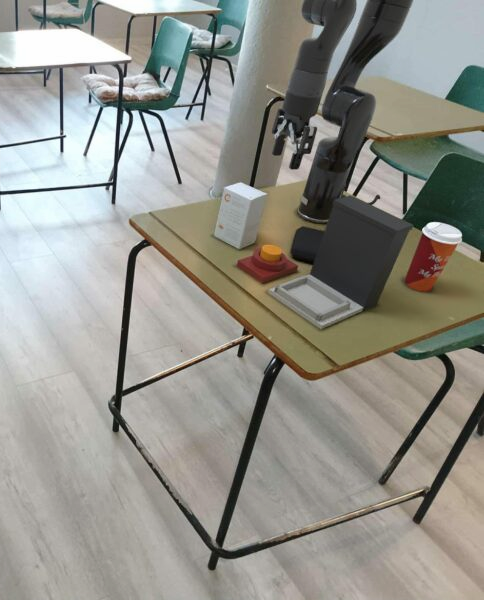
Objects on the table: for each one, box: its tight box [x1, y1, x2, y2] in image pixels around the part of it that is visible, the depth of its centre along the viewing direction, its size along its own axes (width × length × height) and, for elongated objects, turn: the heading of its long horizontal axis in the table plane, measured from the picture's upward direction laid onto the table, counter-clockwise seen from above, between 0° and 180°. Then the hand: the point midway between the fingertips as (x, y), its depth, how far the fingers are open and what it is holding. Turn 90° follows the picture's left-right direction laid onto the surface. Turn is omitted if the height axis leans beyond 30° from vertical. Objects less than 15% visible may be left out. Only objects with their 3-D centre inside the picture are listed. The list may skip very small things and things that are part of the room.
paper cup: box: [404, 221, 463, 293], centre depth 123 cm, size 8×8×14 cm
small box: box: [213, 181, 268, 250], centre depth 135 cm, size 8×6×13 cm
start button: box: [260, 244, 283, 262], centre depth 126 cm, size 4×4×2 cm
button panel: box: [236, 247, 299, 285], centre depth 128 cm, size 11×8×4 cm
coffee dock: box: [267, 195, 414, 330], centre depth 115 cm, size 18×14×19 cm
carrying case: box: [290, 225, 325, 264], centre depth 136 cm, size 11×3×15 cm
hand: (284, 161), depth 133 cm, fingers open, 8 cm apart
